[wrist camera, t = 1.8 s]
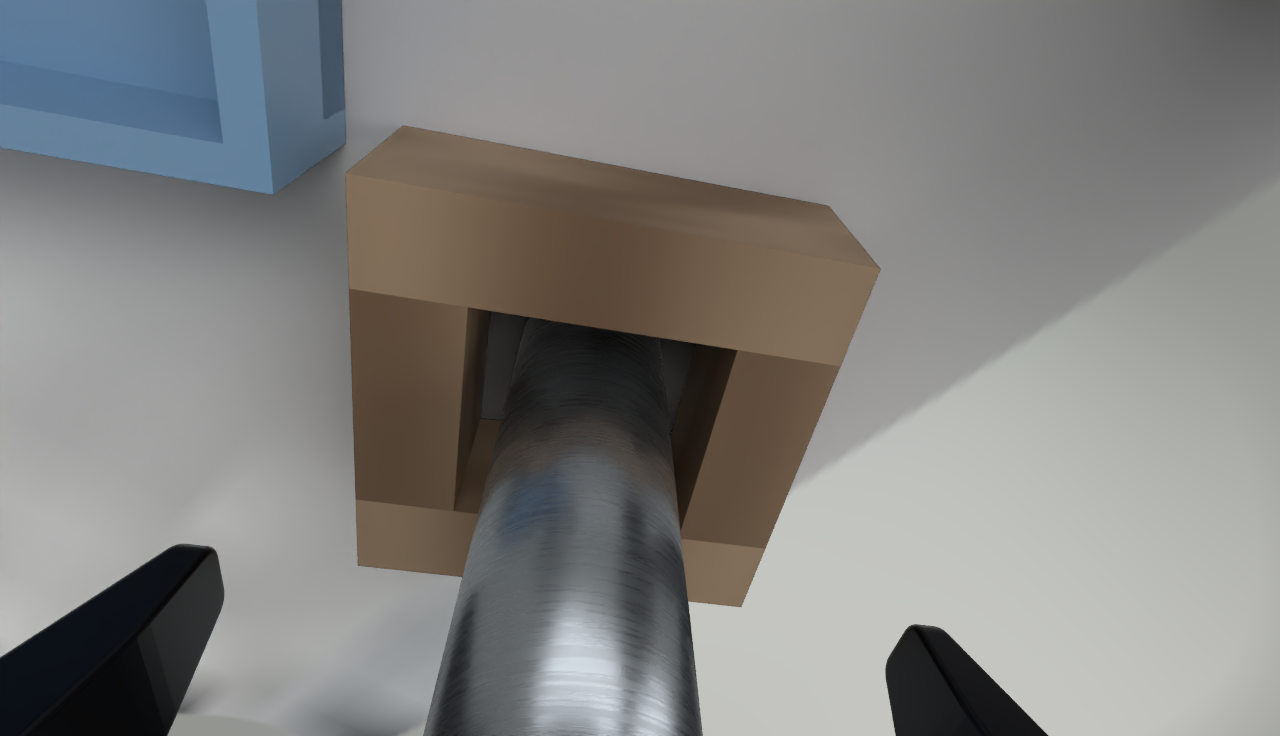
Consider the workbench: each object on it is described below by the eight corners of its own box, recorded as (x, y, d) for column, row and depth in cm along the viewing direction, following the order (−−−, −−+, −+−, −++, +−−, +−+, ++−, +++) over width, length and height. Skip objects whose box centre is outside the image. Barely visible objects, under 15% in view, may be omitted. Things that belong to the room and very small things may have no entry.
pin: (703, 282, 14) (874, 947, 5) (662, 435, 16) (724, 1107, 7) (506, 249, 13) (256, 918, 4) (490, 412, 15) (301, 1101, 6)
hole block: (828, 206, 13) (880, 269, 10) (722, 509, 17) (741, 607, 15) (402, 125, 12) (345, 173, 9) (398, 467, 16) (357, 565, 14)
